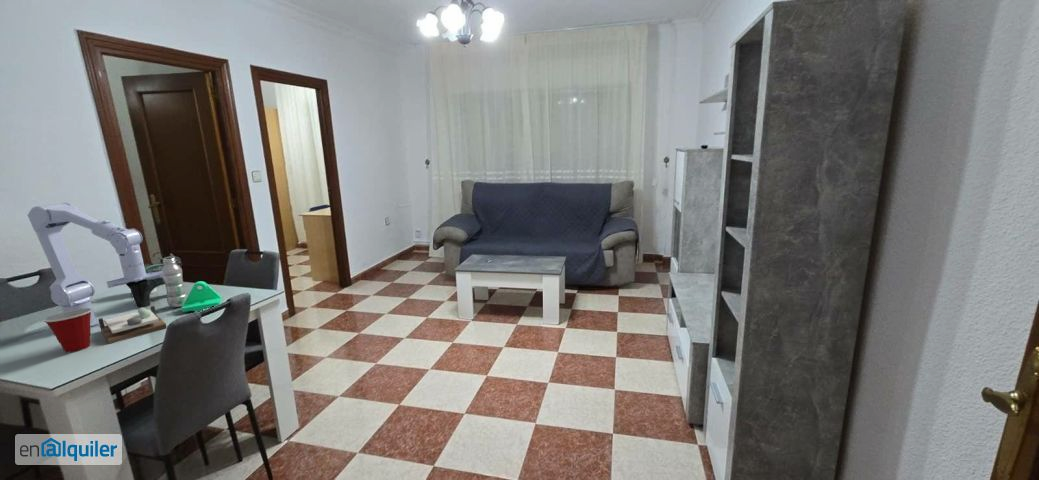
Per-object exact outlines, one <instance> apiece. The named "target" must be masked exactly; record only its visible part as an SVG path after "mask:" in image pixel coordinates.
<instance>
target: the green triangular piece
mask: <svg viewBox="0 0 1039 480" xmlns="http://www.w3.org/2000/svg"><path fill="white" fill-rule="evenodd" d="M199 287H201V288H199ZM187 296H188V297H187V299H186V301H185V302H184V304H183V306H181V312H183V313H186V312H191V311H193V312H194V311H200V312H202V311H201V310H203V309H207V308H209V309H210V308H213V307H212V306H216V305H219V304H220V305H221V303H222V301H223V300H222V296H221V295H220V294H219V293H218V292H216V290H214V288H213V287H211V286H210V285H209V284H208V283H207V282H205V281H202V280H201V281H196V282H195V283H194V284H193V286H192V287H191V290H190V291H189V293H188V294H187ZM216 307H217V306H216Z"/></svg>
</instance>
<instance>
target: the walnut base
mask: <svg viewBox="0 0 1039 480" xmlns="http://www.w3.org/2000/svg"><path fill="white" fill-rule="evenodd" d="M149 306H150V308H149V309H150V310H151V311H152V312H153V313H154V314H155V316H156V317H157V318H158V319H159V322H155V323H151V324H147V325H143V326H139V327H136V328H132V329H128V330H124V331H120V332H116V333H112V332H111V330H110V329H109V327H108V325H107V324H106V325H105V324H104V322H105V321H104V319H103V317H100V318H97V321H98V322H99V328H100V331H101V333H102V335H103V336H104V338H105V340H106V342H107V343H108V344H113V343H116V342H120V341H125V340H127V339H131V338H132V339H133V338H135V337H139V336H143V335H146V334H150V333H153V332H157V331H161V330H164V329H167V328H166V327H167V323H166V322H164V321H163V320H162V318H160V317H159V315H158V314H157V313H156V308H155V305H149Z"/></svg>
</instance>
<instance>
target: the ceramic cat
mask: <svg viewBox="0 0 1039 480" xmlns="http://www.w3.org/2000/svg"><path fill="white" fill-rule="evenodd" d="M157 254H160V255H161V256H162V257H158V259H159V260H160V261H159V262H157V263H152V262H151V263H144V265H147V264H149V265H148V266H146V267H145V272H146V273H153V272H160V271H161V270H162V268H163V267H164V264H163V259H164V258H169V257H175V261H176V262H175V263H176V264H177V265H178V266H180V267H181V268H182V266H183V262H182V260H181V258H180V257H178V256H175V255H174V254H173V253H170V254H169V256H165V257H164V255H163V253H162V252H158V251H157V252H154V253H153V254H152V257H154V258H155V255H157ZM147 281H148V285H147V288H146V291H145V296H144V302H140V303H139V302H138V300H137V298H136V296H135V294H134V293H133V292H132V290H131V289H130V293H131V296H132V299H133V300H134V301H135V302H134V303H135V305H136V306H137V308H138V309H139V308H142V307H143V308H146V307H149V306H151V302H150V299H151V298H150V297H151V294H150V293H151V291H152V290H153V289H154V288H156V287H157V288H158V287H160V286H163V285H165V283H164V280H163V278H155V279H150V280H147Z"/></svg>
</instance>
